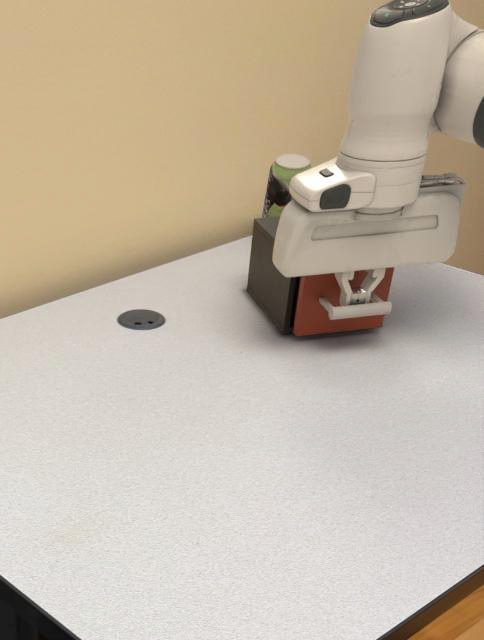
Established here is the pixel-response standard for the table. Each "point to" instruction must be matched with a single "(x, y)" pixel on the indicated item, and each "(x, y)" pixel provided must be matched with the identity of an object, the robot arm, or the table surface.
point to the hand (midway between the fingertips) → (353, 305)
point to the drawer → (337, 304)
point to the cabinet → (270, 276)
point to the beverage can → (282, 182)
